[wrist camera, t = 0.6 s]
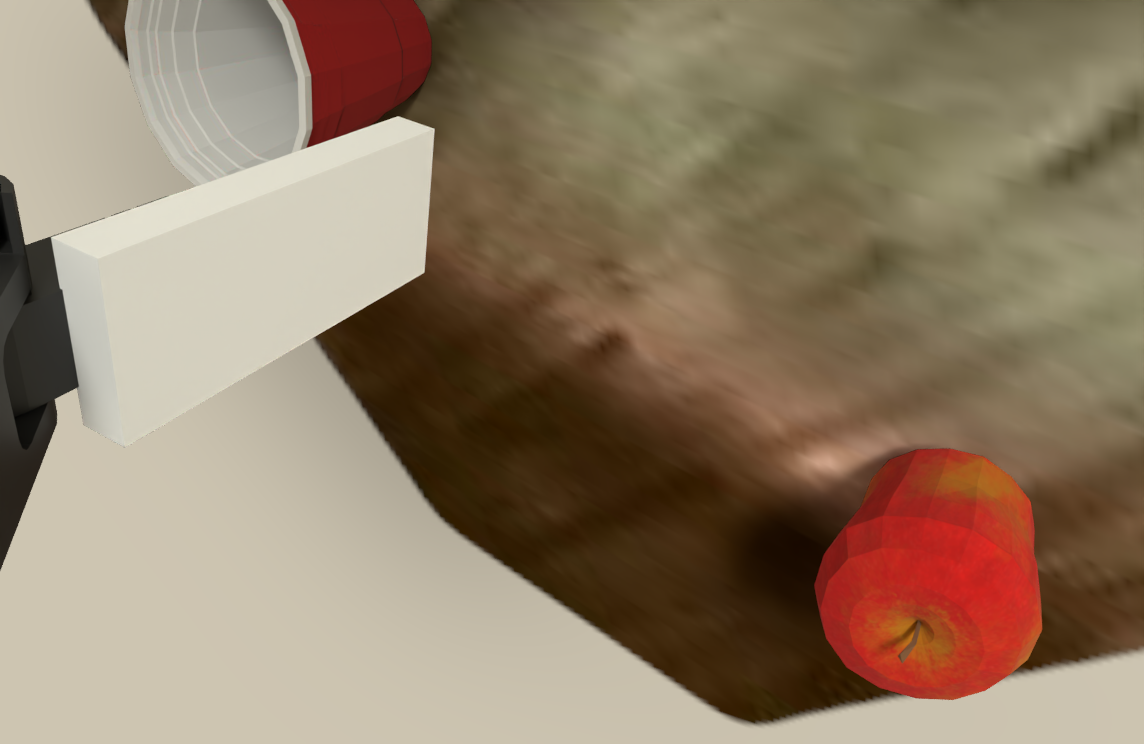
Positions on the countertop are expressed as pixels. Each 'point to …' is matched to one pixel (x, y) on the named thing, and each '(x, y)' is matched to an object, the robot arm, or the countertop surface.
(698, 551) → the countertop surface
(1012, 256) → the countertop surface
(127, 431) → the robot arm
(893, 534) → the apple
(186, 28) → the plastic cup
